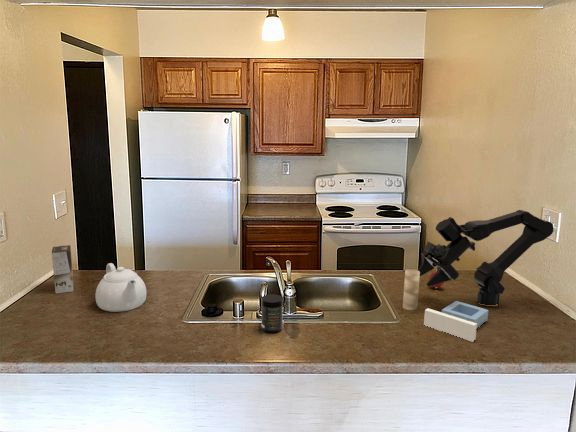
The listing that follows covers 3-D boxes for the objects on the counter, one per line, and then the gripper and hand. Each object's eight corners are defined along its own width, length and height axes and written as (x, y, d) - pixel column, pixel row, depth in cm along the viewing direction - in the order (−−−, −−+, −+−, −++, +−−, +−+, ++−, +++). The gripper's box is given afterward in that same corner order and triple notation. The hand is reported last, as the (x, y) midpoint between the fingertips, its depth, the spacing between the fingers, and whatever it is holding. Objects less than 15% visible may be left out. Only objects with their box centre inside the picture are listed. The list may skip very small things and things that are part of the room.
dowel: (413, 306, 166) (416, 269, 164) (419, 311, 162) (422, 273, 159) (400, 306, 166) (403, 269, 163) (405, 312, 161) (408, 274, 158)
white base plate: (450, 310, 163) (451, 294, 162) (496, 324, 153) (498, 307, 151) (423, 327, 150) (424, 309, 148) (472, 344, 139) (474, 325, 137)
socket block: (455, 311, 161) (456, 300, 160) (487, 321, 153) (488, 310, 152) (440, 321, 153) (441, 309, 152) (473, 331, 145) (475, 319, 144)
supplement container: (286, 330, 145) (287, 299, 143) (267, 335, 142) (268, 304, 140) (275, 322, 151) (276, 292, 149) (257, 327, 147) (257, 296, 145)
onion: (440, 292, 180) (442, 273, 179) (426, 289, 184) (427, 270, 182) (445, 288, 185) (447, 269, 183) (431, 285, 188) (432, 266, 186)
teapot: (156, 295, 173) (155, 260, 170) (136, 315, 155) (133, 276, 152) (109, 292, 175) (106, 258, 172) (83, 312, 157) (80, 274, 154)
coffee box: (74, 291, 175) (70, 250, 172) (55, 294, 172) (51, 252, 169) (73, 283, 183) (70, 244, 180) (55, 285, 181) (52, 246, 177)
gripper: (428, 228, 168) (397, 257, 169) (453, 241, 150) (418, 274, 151) (446, 248, 171) (416, 277, 172) (473, 264, 153) (439, 296, 154)
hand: (421, 280), depth 162 cm, fingers open, 9 cm apart
